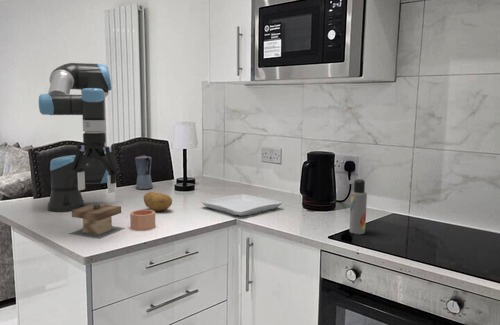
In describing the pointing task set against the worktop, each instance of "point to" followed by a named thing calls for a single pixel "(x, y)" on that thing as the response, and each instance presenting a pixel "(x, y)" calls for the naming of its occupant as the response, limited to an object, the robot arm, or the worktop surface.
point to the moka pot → (143, 172)
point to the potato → (157, 201)
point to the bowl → (142, 219)
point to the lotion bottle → (358, 208)
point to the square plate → (241, 204)
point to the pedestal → (97, 225)
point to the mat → (81, 233)
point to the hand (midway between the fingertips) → (96, 191)
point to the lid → (96, 211)
